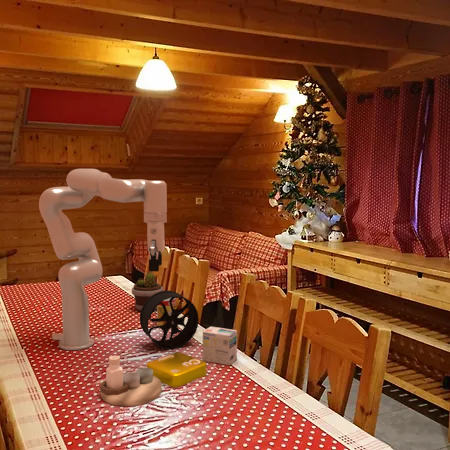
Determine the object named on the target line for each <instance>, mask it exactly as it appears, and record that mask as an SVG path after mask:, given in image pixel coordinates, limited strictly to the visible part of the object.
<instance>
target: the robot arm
mask: <svg viewBox="0 0 450 450" xmlns="http://www.w3.org/2000/svg"><path fill="white" fill-rule="evenodd" d="M65 180H66V184H67V186H53V187H50V188H47V189H45V190H44V191H43V192H42V193H41V195H40V197H39V202H38V207H39V213H40V215H41V217H42V219H43V221H44V223H45V226H46V227H47V231H48V234H49V238H50V241H51V244H52V247H53V251H54V253H55V255H56V257H57V258H58V259H59V260H61V261H67V260H73V259H78V260H76V261H71V262H69V263H66V264H64V265H63V266H62V267H61V268H59V271H58V281H59V283H58V284H59V286H60V287H59V288H60V291H61V307H62V309H61V310H62V311H61V312H62V332H61V333H56V332H54V333H52V335H51V338H52V340H53V341H58V342H59V343H58V347H59V348H60V349H62V350H67V351H77V350H78V351H79V350H84V349H87V348H89V347H92V346H93V345H94V340H95V339H93V338H92V337H90V311H89V310H90V304H89V303H90V302H89V295H88V293H87V290H86V289H85V288H84V287H85V286H88V285H91V284H95V283H97V282H98V281H100V280H101V278H102V277H103V271H104V270H103V265H102V261H101V258H100V256H99V252H98V249H97V246H96V243H95V241H94V239H93V237H92V236H91V235H90V234H88V233H86V232H84V231H83V232H82V231H79V232H74V229H73V226H72V223H71V220H70V218H68V217H67V215H66V214H65V213H64V212H63V210H70V209H71V210H72V209H79V208H82V207H84V206H86V205H87V204H88V203H89V202H90V201H91V200H92V199H94V197H95V196H96V197H101V198H102V199H103V200H107V201H111V202H112V201H113V202H116V203H117V202H118V203H123V204H124V203H126V204H127V203H134V202H135V203H137V202H143V223H146V227H147V230H146V232H147V233H146V237H147V238H146V240H147V242H146V243H147V252H148V253H149V256H148V257H149V258H148V272H149V271H151V272H152V271H153V272H159V271H160V266H162V265H163V260H162V259H163V254H162V253H163V252H164V251H165V248H166V243H165V242H166V241H165V223H167V213H168V208H167V207H168V205H167V203H168V202H167V200H168V199H167V196H168V195H167V194H168V193H167V189H168V187H167V183H166V182H165V180H147V179H141V178H139V179H138V178H137V179H136V178H135V179H121V178H114V177H112V176H111V175H110V174H109V173H107V172H103V171H101V170H99V169H97V168H76V169H75V168H74V169H73V170H71V171H70V172H69V173H68V174H67V176H66V179H65Z"/></svg>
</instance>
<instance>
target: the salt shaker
mask: <svg viewBox="0 0 450 450" xmlns="http://www.w3.org/2000/svg"><path fill="white" fill-rule="evenodd" d="M120 364H121V358H120V356H119V355H112V356H109V357H108V366H109V367H107V368H106V370H105V374H106V376H105V378H106V380H105V381H106V386H107V388H120V387H122V386H123V374H124V368H123V367H121V365H120Z"/></svg>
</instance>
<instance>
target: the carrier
mask: <svg viewBox="0 0 450 450" xmlns="http://www.w3.org/2000/svg"><path fill="white" fill-rule="evenodd" d="M162 384H163V383H161V381H160V380H159V379H158V378H157V377H155V376H153V370H152V369H150V368H147V367H142V368H141V367H140V368H138V369H136V372H127V373H123V386H122V387H120V388H107V386H106V380H104V381H102V382H101V383H100V386H99V392H100V398H101V399H102V400H103V401H104V402H106V403H107V404H110V405H114V406H117V407H133V406H140V405H141V406H142V405H145V404H148V403H151V402H152V401H154V400H157V399H158V398H159V397H160V395H161V394H162V391H163V389H162V387H163V386H162Z"/></svg>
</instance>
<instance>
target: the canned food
mask: <svg viewBox="0 0 450 450" xmlns="http://www.w3.org/2000/svg"><path fill="white" fill-rule="evenodd" d="M170 299H171V298H168V299H166V300H163V301H162V302H161V303H164V304H165V306H166V309H167V312H168V315H169V316H171V313H172V310H171V307H170V303H169V300H170ZM172 306H173V308H174V309H176V310H177V298H174V299H173V300H172ZM156 313H157V314H156V315H157V316H156V318H161V317H162V315H163V314H164V309H163V307H162V304H159V305H158V306H157V310H156ZM156 323H157V325H156V326H160V325H164V324H166V322H165V321H160V322H156Z"/></svg>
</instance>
